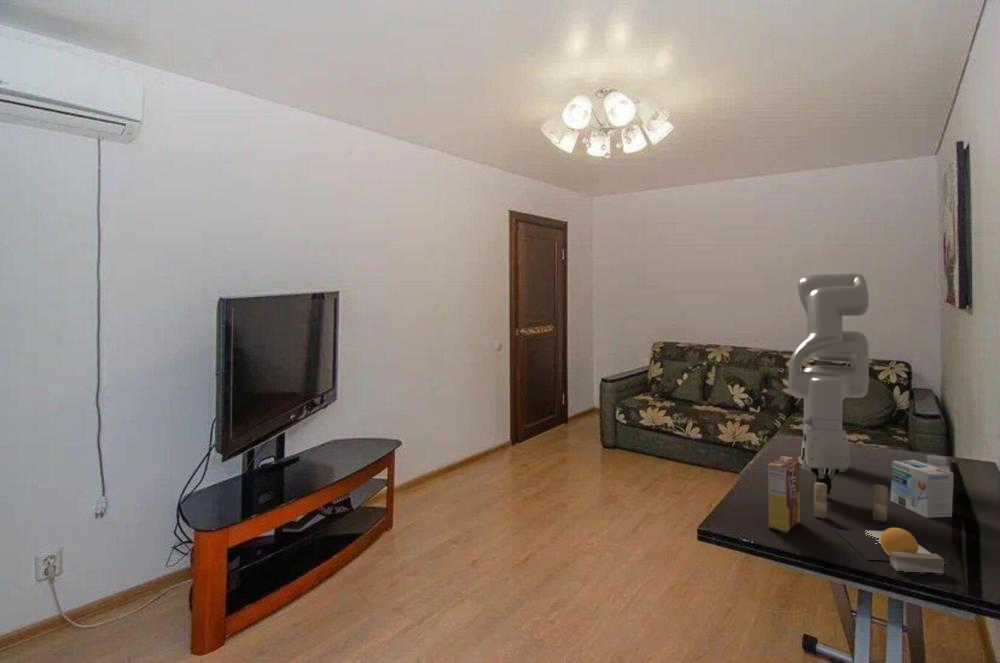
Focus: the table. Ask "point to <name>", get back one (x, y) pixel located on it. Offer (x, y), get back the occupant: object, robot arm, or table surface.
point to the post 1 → (820, 500)
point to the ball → (898, 541)
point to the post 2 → (880, 503)
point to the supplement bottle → (937, 462)
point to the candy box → (783, 493)
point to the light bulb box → (922, 488)
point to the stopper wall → (916, 562)
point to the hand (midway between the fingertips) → (823, 492)
